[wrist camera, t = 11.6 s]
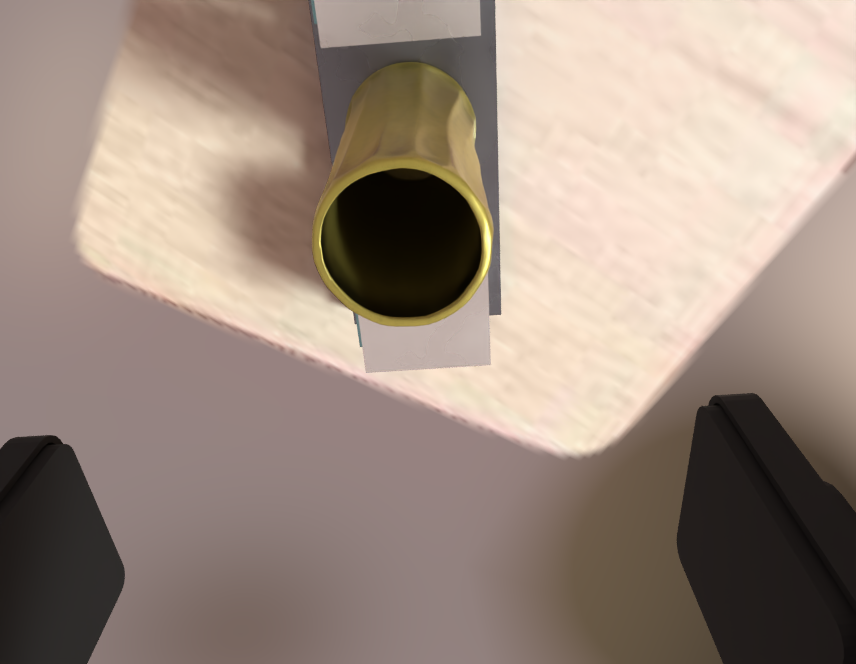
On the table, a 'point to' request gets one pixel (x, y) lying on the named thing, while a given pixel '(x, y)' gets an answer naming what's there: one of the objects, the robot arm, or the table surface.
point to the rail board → (476, 74)
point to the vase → (405, 201)
